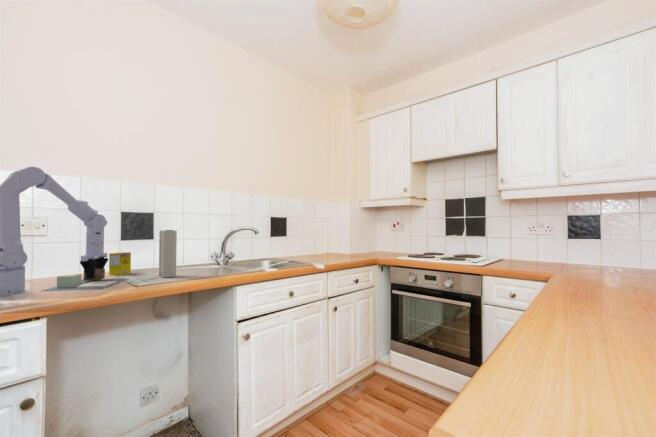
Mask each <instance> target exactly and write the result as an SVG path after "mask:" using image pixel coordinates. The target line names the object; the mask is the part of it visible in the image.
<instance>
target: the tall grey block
mask: <svg viewBox="0 0 656 437" xmlns="http://www.w3.org/2000/svg"><path fill="white" fill-rule="evenodd" d="M177 233H178V231H177V230H173V229H165V230H159V234H158V235H159V239H158V240H159V241H158V243H159V244H158V246H159V247H158V248H159V250H158V254H159V255H158V263H159V264H158V276H159V277H161V278H173V277H176V276H177V241H178V240H177V238H178V237H177V236H178V234H177Z"/></svg>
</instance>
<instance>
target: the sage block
mask: <svg viewBox="0 0 656 437" xmlns="http://www.w3.org/2000/svg"><path fill="white" fill-rule="evenodd" d="M81 280H82V273H72V274H71V273H67V274H63V275H61V274H60V275H58V276H56V286H57V288H61V287H75V286H78V285H81Z"/></svg>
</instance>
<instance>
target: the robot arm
mask: <svg viewBox="0 0 656 437" xmlns="http://www.w3.org/2000/svg"><path fill="white" fill-rule="evenodd" d="M32 187H35V188H36V189H41V190H45V191H48V192H49V193H51V194H52V195H53V196H55V197H56V198H58V199H59V200H60V201H62V202H63V203H64V204H66V205H67V210H68V211H69V212H70V213H71V214H73V215H74V216H75V217H77V219H79V220H80V221H82V222H83V225H84V226H85V227H86V233H85V234H86V236H85V254H84V255H82V256H81V255H80V261H79V264H80V265H81V266H82V268H83V272H84V271H85V274H86V277H87V278H94V274H95V269H102V268H105V267H106V264H107V262H109V258H108V252H105V251H104V250H105V248H104V247H105V246H104V245H105V227H106V226H107V224H108V221H107V218H106V217H105V216H104V215H102V214H99V211H98V210H94V208H92V207H91V206H90V205H89V202H88V201H86V200H82V199H76V198H75V197H74V196H73V195H71V193H70V192H69V191H67V190H66V189H65V188H64V187H63V186H62V185H61V184H59V183H58V182H57V181H56V180H55V179H54V178H53V177H52V176H51V175H49V173H45V172H44V170H43V169H42V168H40V167H37V166H28V167H25V168H21V169H18V170H15V171H14V172H11V173H10V174H9V175H8V176H7V177H6V179H5V180H4V181H3V182H1V184H0V297H6V296H10V295H13V294H18V293H22V292H25V290H26V266H25V264H26V263H27V261H28V255H27V253H26V252H25V250H24V244H23V243H22V239H21V236H22V235H21V211H20V210H21V207H20V205H21V204H20V195H21V193H23V192H24V191H26V190H28V189H29V188H32Z"/></svg>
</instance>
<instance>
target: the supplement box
mask: <svg viewBox="0 0 656 437" xmlns="http://www.w3.org/2000/svg"><path fill="white" fill-rule="evenodd" d="M131 253H132V252H129V251H128V252H125V251H124V252H123V251H121V252H120V251H119V252H112V253H111V252H110V253H109V255H108V257H109V258H108V263H109V264H108V275H109V276H124V275H130V274H131V272H132V271H131V269H132V268H131V265H132V261H131V260H132V258H131V257H132V254H131Z"/></svg>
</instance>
